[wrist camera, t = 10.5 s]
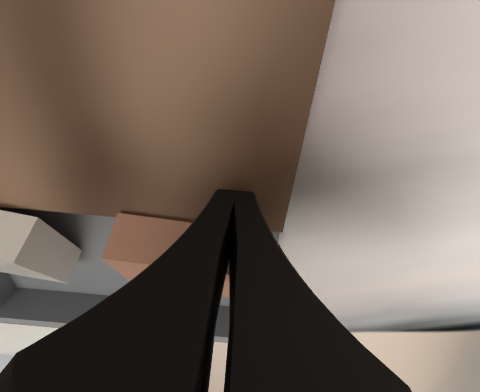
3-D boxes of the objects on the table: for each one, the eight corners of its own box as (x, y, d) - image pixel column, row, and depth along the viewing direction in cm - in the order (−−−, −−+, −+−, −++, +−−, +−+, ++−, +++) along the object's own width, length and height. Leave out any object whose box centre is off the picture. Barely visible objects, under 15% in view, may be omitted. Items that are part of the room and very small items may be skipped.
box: (16, 285, 18) (-15, 321, 16) (-58, 166, 13) (-118, 196, 11) (256, 307, 18) (256, 345, 16) (277, 197, 13) (282, 232, 11)
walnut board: (-58, 166, 13) (-118, 196, 11) (-266, -169, 7) (-479, -243, 5) (277, 197, 13) (282, 232, 11) (337, -108, 7) (370, -155, 5)
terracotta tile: (144, 252, 15) (134, 285, 14) (118, 212, 10) (101, 258, 9) (234, 263, 15) (231, 297, 14) (246, 230, 11) (241, 276, 10)
